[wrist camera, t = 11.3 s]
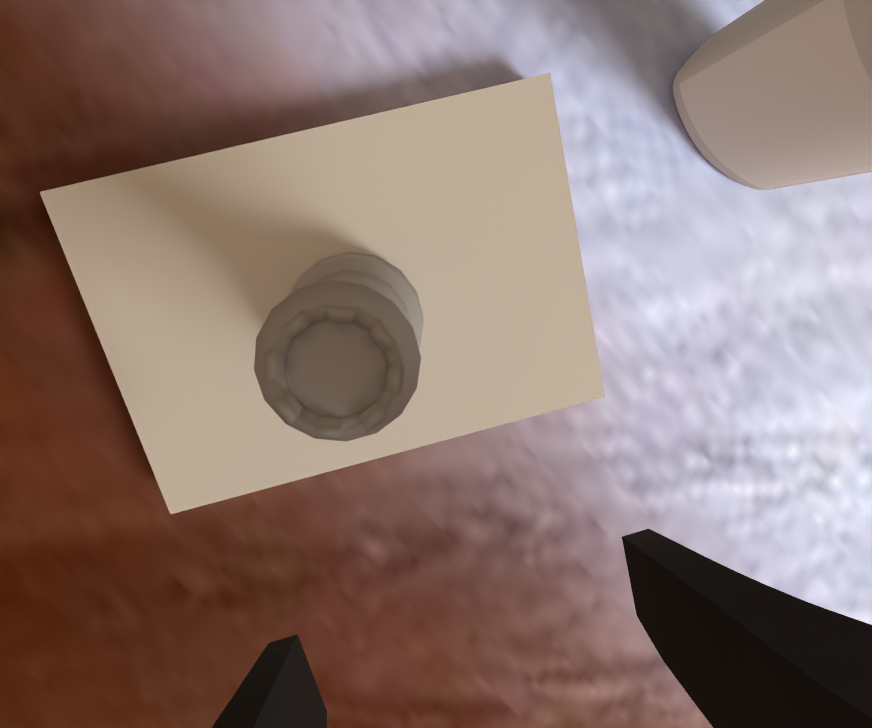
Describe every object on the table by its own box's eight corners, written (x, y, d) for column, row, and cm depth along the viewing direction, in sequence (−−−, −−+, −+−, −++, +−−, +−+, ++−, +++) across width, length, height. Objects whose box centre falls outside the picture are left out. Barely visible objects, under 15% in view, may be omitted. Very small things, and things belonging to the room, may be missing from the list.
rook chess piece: (328, 406, 17) (284, 528, 10) (262, 289, 16) (153, 319, 8) (444, 349, 17) (495, 424, 10) (385, 228, 16) (389, 201, 8)
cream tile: (186, 494, 19) (170, 514, 17) (69, 197, 16) (39, 192, 15) (588, 386, 20) (604, 397, 18) (535, 88, 17) (550, 72, 16)
